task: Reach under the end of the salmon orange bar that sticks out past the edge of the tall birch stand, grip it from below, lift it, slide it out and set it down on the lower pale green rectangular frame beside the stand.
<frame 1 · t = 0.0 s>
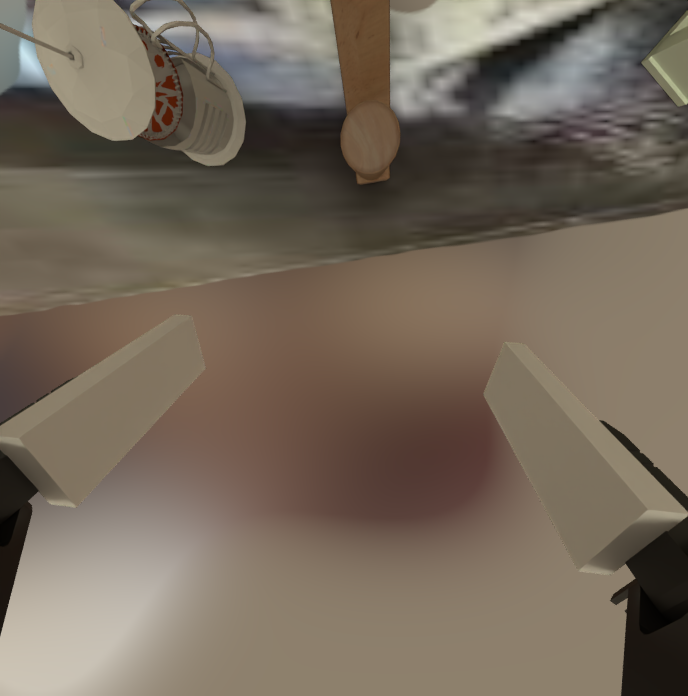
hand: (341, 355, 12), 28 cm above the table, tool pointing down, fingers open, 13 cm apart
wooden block: (368, 126, 30), on the table
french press: (208, 108, 30), on the table
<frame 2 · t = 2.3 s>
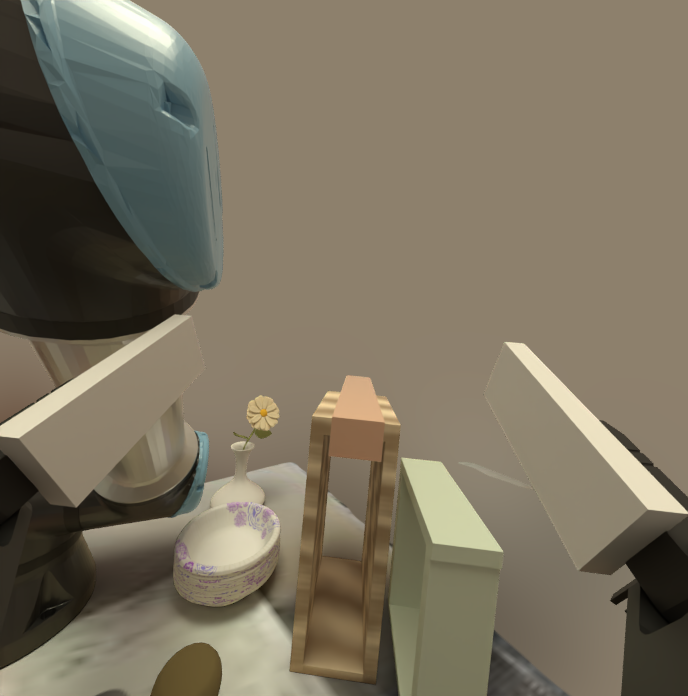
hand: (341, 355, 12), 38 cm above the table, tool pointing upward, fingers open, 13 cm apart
flower in vase: (241, 507, 60), on the table
pale green rectangular frame: (420, 670, 33), on the table
birch stand: (337, 609, 39), on the table
salmon orange bar: (356, 413, 33), point 30 cm above the table, touching birch stand
paper bowls: (227, 579, 43), on the table
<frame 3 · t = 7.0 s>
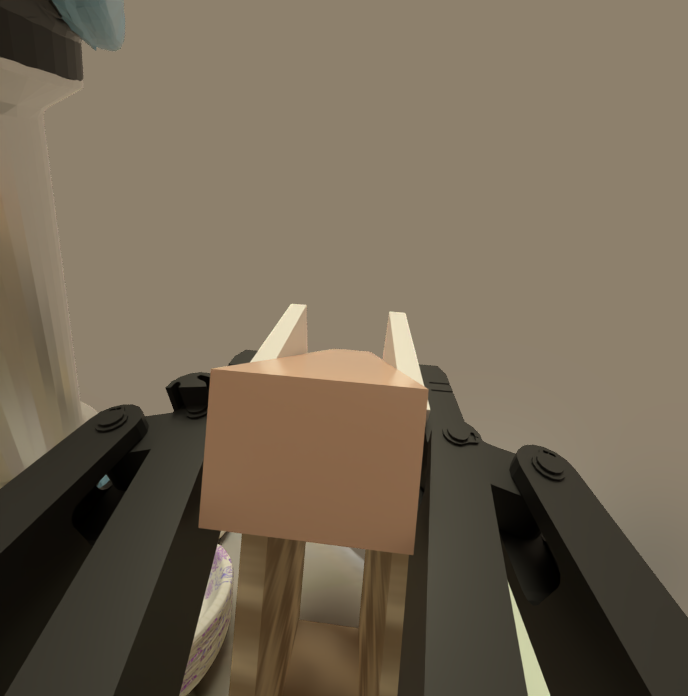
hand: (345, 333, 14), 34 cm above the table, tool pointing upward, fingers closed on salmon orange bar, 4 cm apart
salmon orange bar: (343, 399, 18), point 30 cm above the table, touching birch stand, gripper
paper bowls: (146, 667, 27), on the table
when the fingers open (27 cm above the table, at t = 13.2 s): salmon orange bar stays where it is, resting on pale green rectangular frame.
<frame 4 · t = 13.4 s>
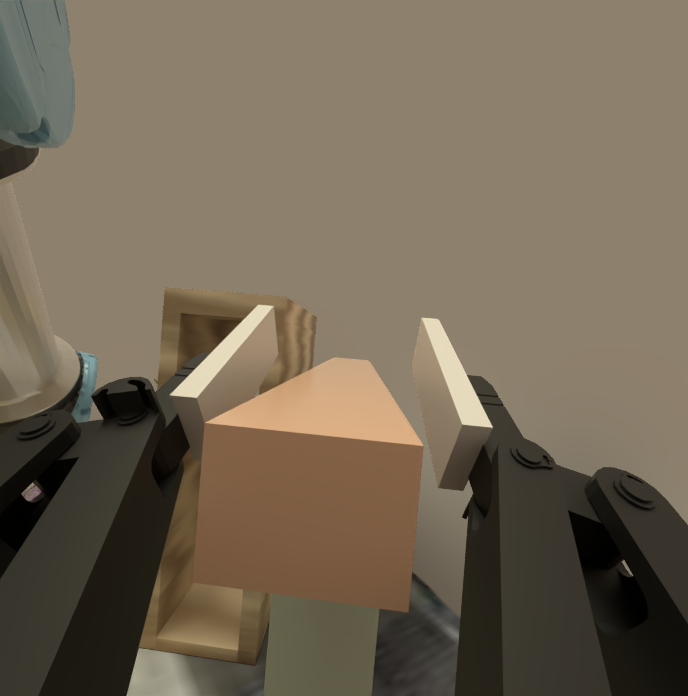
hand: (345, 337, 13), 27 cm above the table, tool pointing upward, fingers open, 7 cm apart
pale green rectangular frame: (325, 647, 24), on the table
birch stand: (238, 573, 30), on the table
salmon orange bar: (342, 414, 18), point 22 cm above the table, touching pale green rectangular frame
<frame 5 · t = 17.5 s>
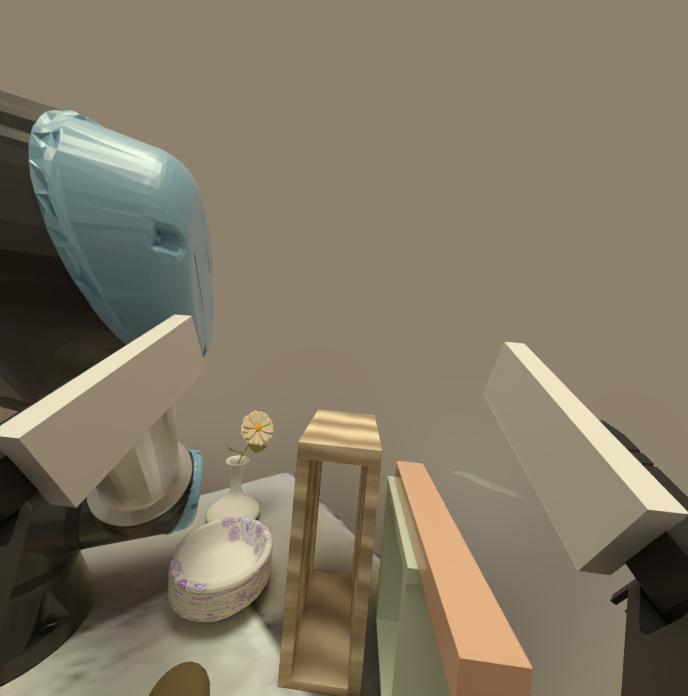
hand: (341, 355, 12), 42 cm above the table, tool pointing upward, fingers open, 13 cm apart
flower in vase: (236, 519, 62), on the table
pale green rectangular frame: (403, 685, 34), on the table
birch stand: (326, 624, 40), on the table
salmon orange bar: (430, 544, 28), point 22 cm above the table, touching pale green rectangular frame
paper bowls: (221, 594, 44), on the table
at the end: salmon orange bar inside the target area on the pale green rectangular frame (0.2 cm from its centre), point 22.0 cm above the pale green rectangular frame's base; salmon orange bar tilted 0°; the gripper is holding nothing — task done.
